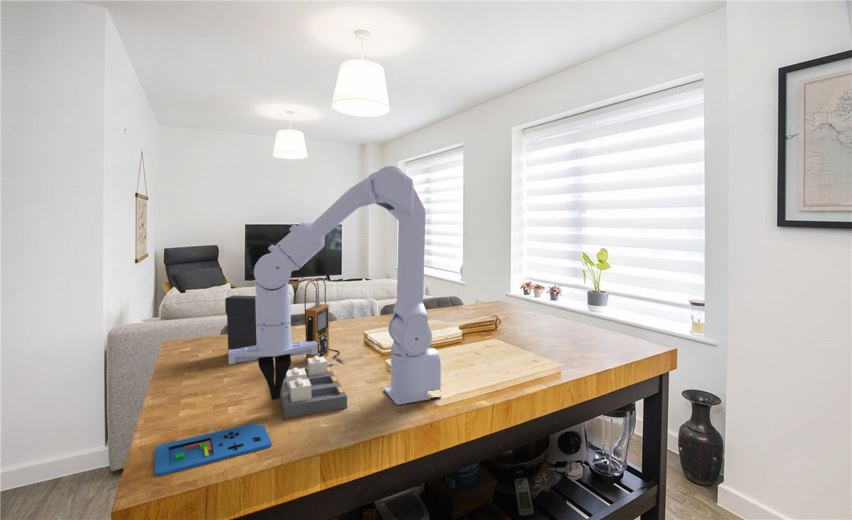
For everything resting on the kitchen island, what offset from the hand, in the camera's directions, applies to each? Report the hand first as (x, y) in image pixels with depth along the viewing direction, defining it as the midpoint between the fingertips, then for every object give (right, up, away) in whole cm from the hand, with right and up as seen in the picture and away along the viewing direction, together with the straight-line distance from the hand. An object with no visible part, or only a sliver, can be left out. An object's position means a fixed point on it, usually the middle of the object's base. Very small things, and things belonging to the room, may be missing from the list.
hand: (275, 397), depth 74 cm
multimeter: (+3, 0, +29) cm, 29 cm away
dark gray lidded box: (-17, 0, +32) cm, 36 cm away
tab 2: (+4, -1, +2) cm, 4 cm away
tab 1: (+1, -1, +7) cm, 8 cm away
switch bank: (+4, -2, +8) cm, 9 cm away
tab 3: (+4, 0, +15) cm, 15 cm away
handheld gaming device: (-5, -4, -12) cm, 13 cm away
